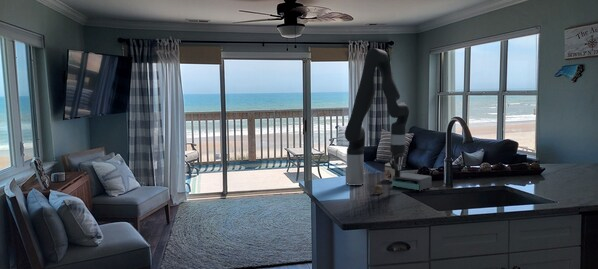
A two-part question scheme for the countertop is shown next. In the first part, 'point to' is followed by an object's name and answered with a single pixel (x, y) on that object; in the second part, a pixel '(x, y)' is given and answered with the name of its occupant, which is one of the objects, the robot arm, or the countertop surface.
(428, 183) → the player housing
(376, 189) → the pedestal
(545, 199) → the countertop surface
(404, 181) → the disc
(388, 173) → the teacup with lid
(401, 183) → the tray
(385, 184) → the countertop surface
